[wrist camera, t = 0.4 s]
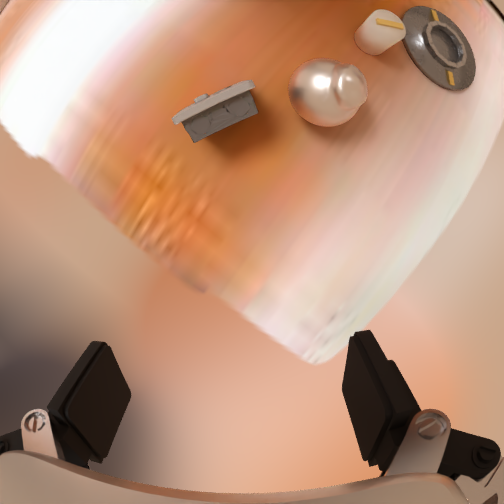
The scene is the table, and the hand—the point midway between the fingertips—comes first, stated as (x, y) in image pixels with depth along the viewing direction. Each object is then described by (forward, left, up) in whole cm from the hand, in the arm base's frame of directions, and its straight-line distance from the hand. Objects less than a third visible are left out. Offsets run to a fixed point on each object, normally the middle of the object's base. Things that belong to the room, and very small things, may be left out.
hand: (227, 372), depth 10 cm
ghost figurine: (-15, +11, -30) cm, 35 cm away
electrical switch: (-14, -2, -30) cm, 33 cm away
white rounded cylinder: (-25, +20, -30) cm, 44 cm away
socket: (-27, +34, -30) cm, 53 cm away
